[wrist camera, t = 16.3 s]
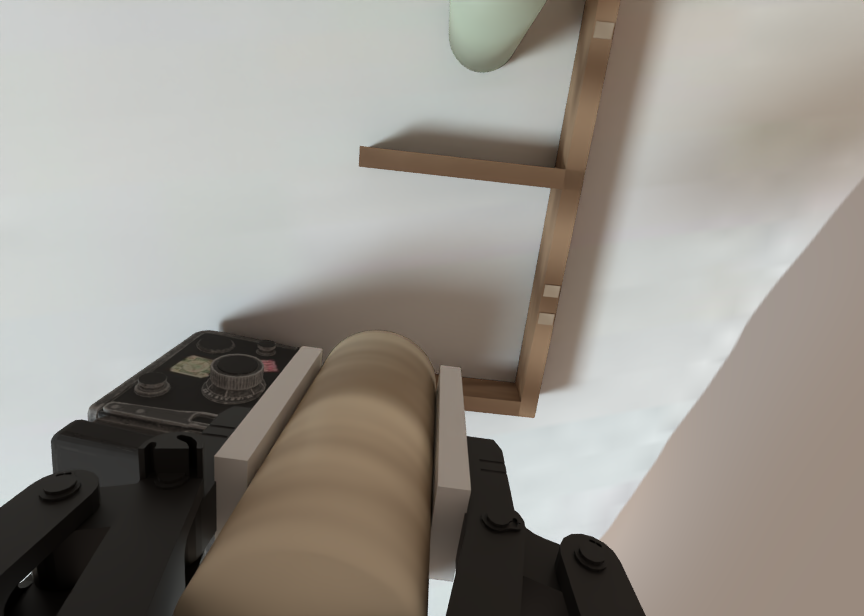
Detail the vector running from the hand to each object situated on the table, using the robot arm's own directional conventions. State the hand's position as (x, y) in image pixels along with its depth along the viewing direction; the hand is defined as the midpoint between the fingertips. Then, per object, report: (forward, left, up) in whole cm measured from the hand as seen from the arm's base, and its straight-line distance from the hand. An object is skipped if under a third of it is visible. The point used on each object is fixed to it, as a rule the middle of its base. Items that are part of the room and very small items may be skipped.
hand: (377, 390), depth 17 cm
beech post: (0, 0, -1) cm, 1 cm away
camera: (+10, -11, -18) cm, 23 cm away
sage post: (-16, +3, -17) cm, 24 cm away
